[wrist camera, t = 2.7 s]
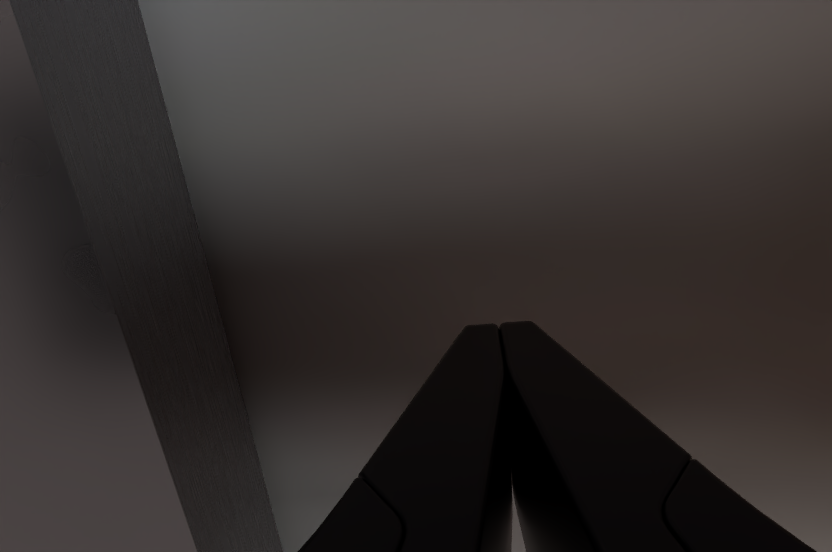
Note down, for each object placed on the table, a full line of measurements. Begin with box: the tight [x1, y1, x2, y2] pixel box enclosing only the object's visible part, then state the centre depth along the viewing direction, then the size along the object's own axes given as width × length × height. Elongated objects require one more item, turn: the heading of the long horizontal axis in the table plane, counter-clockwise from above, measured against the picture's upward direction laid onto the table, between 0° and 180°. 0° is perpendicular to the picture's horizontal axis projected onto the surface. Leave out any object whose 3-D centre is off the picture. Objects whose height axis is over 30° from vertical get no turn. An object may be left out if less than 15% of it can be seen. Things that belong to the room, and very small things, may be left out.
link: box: [0, 0, 283, 552], centre depth 10 cm, size 24×6×3 cm, turn 6°
